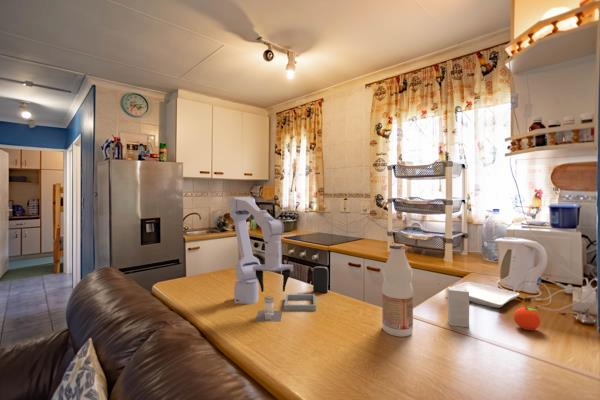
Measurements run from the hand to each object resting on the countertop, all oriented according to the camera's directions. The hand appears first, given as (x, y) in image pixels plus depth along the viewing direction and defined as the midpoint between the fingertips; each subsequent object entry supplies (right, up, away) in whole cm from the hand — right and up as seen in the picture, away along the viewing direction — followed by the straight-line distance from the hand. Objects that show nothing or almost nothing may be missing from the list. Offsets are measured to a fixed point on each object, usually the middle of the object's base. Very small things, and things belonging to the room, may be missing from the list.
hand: (273, 290), depth 106 cm
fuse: (-1, -9, -1) cm, 9 cm away
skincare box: (+63, -10, -6) cm, 65 cm away
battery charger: (+19, -9, +28) cm, 35 cm away
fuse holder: (-1, -10, -1) cm, 10 cm away
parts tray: (+10, -9, +10) cm, 17 cm away
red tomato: (+84, -10, -10) cm, 86 cm away
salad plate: (+87, -9, +18) cm, 89 cm away
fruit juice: (+41, -10, -11) cm, 44 cm away
